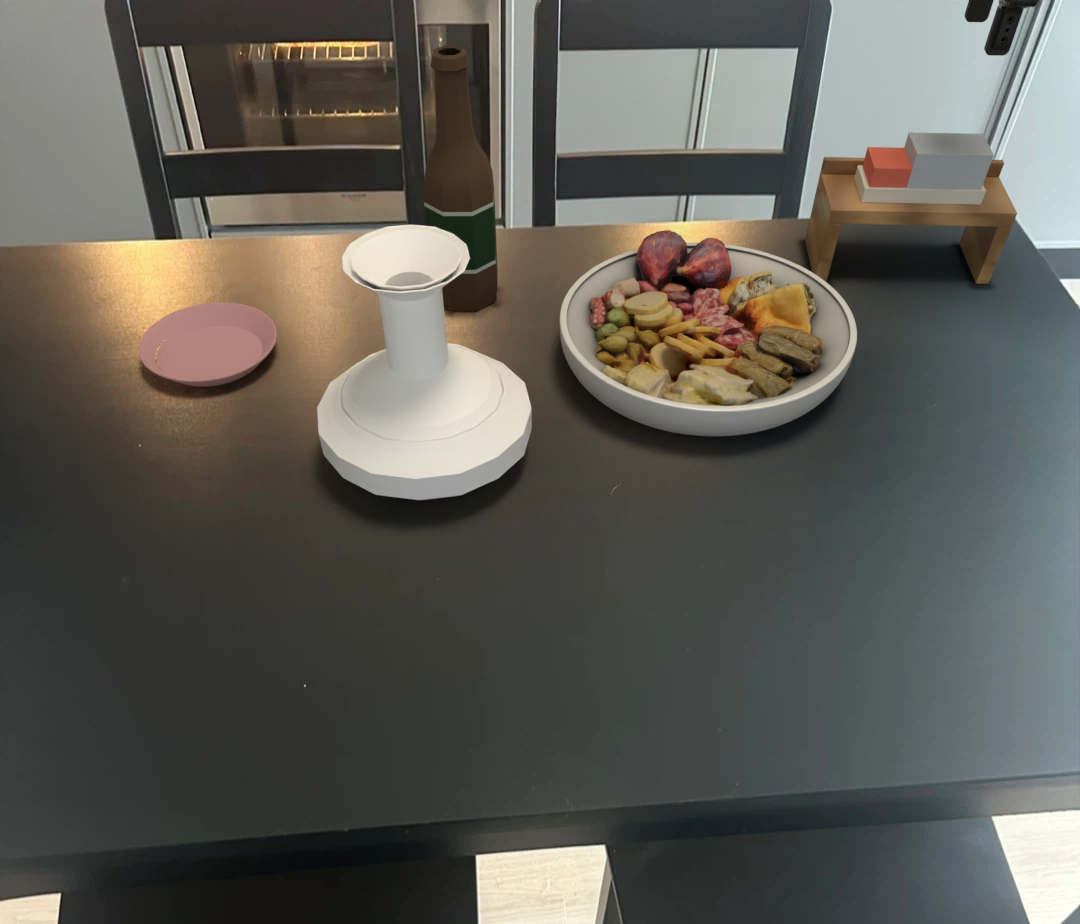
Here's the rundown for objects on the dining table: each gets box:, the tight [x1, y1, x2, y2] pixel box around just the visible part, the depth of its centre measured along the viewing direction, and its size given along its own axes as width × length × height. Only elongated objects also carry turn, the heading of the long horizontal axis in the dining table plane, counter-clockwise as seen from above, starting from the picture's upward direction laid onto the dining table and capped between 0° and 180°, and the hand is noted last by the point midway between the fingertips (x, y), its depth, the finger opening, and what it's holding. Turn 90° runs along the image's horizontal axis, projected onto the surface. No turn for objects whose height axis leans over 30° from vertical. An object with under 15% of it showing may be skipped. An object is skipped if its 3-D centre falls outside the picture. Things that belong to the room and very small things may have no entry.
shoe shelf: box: [804, 156, 1018, 285], centre depth 106 cm, size 20×9×10 cm, turn 87°
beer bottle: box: [423, 44, 498, 312], centre depth 97 cm, size 8×8×24 cm
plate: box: [138, 301, 278, 387], centre depth 99 cm, size 14×14×2 cm
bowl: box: [559, 229, 858, 437], centre depth 96 cm, size 30×30×8 cm
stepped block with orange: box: [854, 132, 995, 205], centre depth 102 cm, size 13×5×5 cm, turn 87°
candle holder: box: [316, 224, 533, 501], centre depth 82 cm, size 20×20×19 cm
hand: (984, 36), depth 92 cm, fingers open, 8 cm apart
